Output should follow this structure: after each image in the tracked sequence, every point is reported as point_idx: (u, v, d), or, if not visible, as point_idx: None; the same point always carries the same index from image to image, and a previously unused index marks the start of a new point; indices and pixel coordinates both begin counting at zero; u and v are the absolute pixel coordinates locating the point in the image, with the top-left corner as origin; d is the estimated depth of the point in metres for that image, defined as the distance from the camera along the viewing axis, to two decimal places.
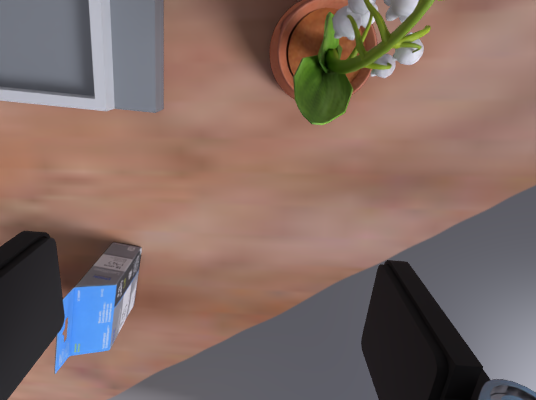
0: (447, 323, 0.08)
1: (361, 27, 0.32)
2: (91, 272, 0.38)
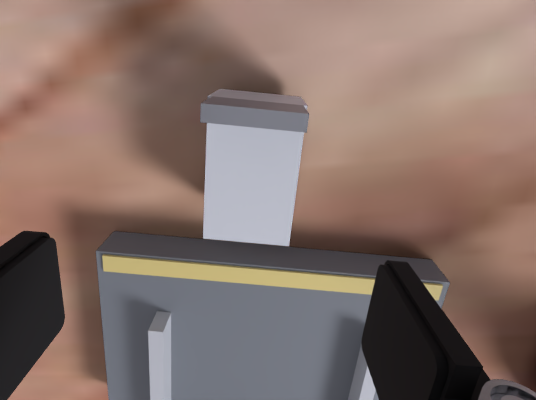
0: (447, 323, 0.08)
1: None
2: None
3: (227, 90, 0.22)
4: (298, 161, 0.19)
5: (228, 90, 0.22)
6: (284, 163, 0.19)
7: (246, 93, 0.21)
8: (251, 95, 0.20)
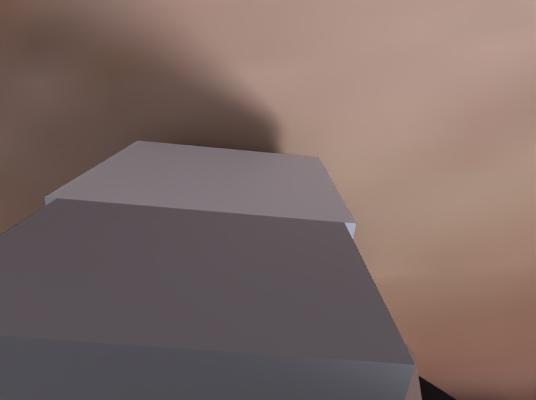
0: None
1: None
2: None
3: (149, 148, 0.09)
4: None
5: (153, 147, 0.09)
6: None
7: (191, 158, 0.09)
8: (199, 169, 0.08)
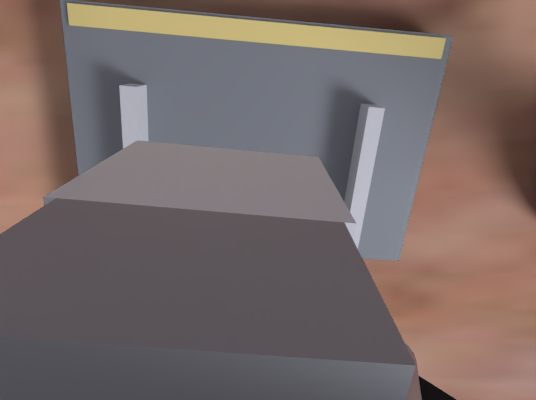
0: None
1: None
2: None
3: (149, 147, 0.09)
4: None
5: (152, 147, 0.09)
6: None
7: (191, 158, 0.09)
8: (199, 169, 0.08)
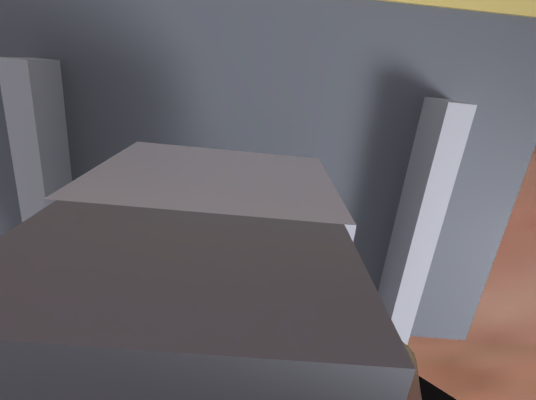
0: None
1: None
2: None
3: (149, 149, 0.09)
4: None
5: (152, 148, 0.09)
6: None
7: (191, 159, 0.09)
8: (199, 170, 0.08)
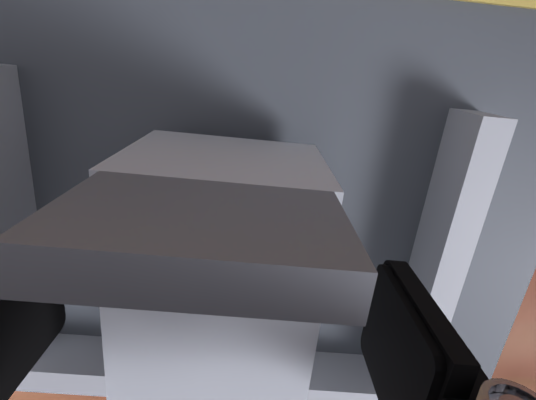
0: (446, 322, 0.08)
1: None
2: None
3: (166, 135, 0.11)
4: None
5: (169, 135, 0.11)
6: None
7: (203, 144, 0.10)
8: (211, 152, 0.09)
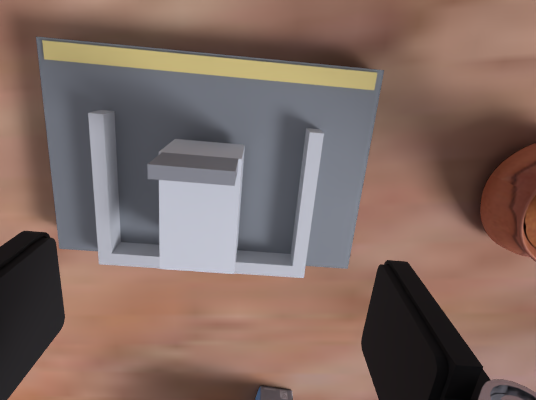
0: (447, 323, 0.08)
1: None
2: None
3: (180, 141, 0.25)
4: (237, 203, 0.23)
5: (181, 141, 0.26)
6: (225, 205, 0.23)
7: (196, 144, 0.25)
8: (199, 147, 0.24)
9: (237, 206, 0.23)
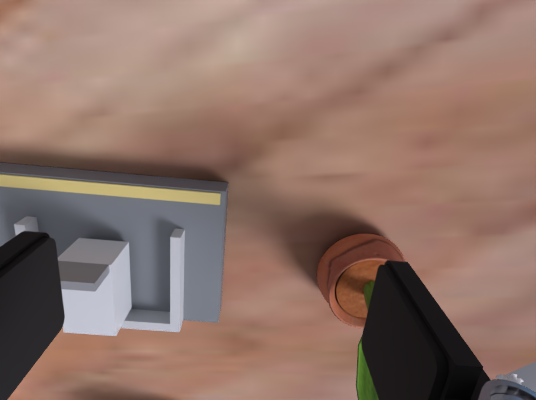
0: (447, 323, 0.08)
1: None
2: None
3: (81, 241, 0.36)
4: (112, 291, 0.34)
5: (82, 241, 0.36)
6: (104, 293, 0.34)
7: (90, 245, 0.36)
8: (89, 250, 0.35)
9: (112, 293, 0.34)
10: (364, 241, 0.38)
